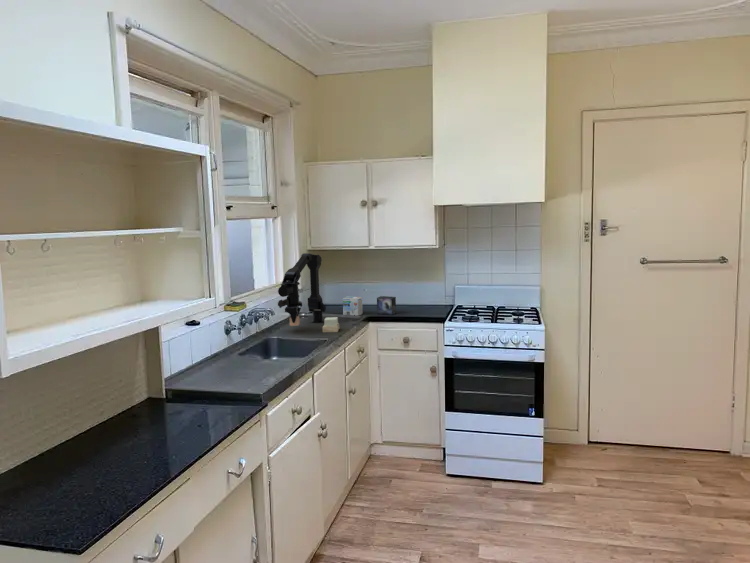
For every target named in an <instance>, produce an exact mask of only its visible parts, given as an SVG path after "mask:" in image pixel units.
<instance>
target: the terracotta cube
mask: <svg viewBox="0 0 750 563" xmlns="http://www.w3.org/2000/svg"><path fill="white" fill-rule="evenodd" d="M299 325H300V316H299V315H298V316H297V317H296V321H295V323H293V322H292V319H291V316H289V326H290V327H294V326H295V327H296V326H299Z"/></svg>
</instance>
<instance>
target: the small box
mask: <svg viewBox="0 0 750 563" xmlns="http://www.w3.org/2000/svg"><path fill="white" fill-rule="evenodd" d="M396 302H397V300H396V296H387V295H386V296H383V295H380V296H377V297H376V309H377V310H376V313H377V315H388V316H389V315H390V316H393V315H395V314H397V305H396V304H397V303H396Z"/></svg>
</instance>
